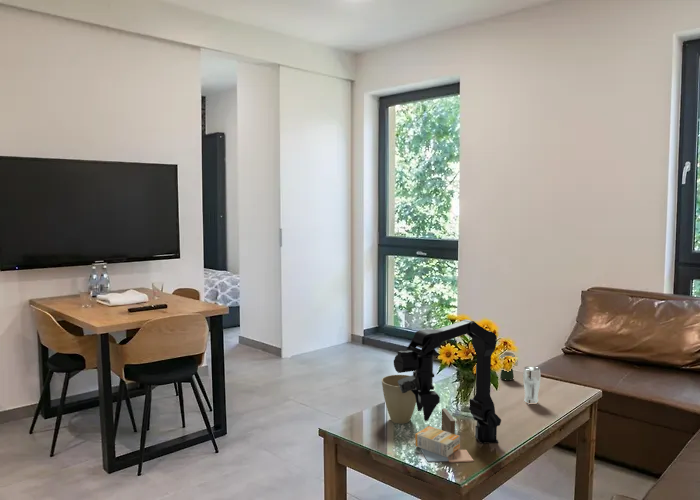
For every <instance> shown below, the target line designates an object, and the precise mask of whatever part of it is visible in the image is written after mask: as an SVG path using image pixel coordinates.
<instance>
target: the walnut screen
mask: <svg viewBox="0 0 700 500" xmlns="http://www.w3.org/2000/svg"><path fill="white" fill-rule="evenodd" d="M441 430H443V431H446V432H449V433H452V434H455V435H456V420H455V418H454V417H453V416H452V415H451V413H450V412H449V411H448V409H447V408H441Z"/></svg>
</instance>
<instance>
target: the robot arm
mask: <svg viewBox="0 0 700 500" xmlns="http://www.w3.org/2000/svg"><path fill="white" fill-rule="evenodd" d="M414 333H415V334H414V335H413V338H412V339H411V341H410V343H409V344H408V345H407V348H406V350H398V351H397V354H396V355H395V357H394V359H393V367H394V369H395V371H396V372H397V374H399V373H401V374H402V373H408V372H412V375H409V376H408V377H406V378H403V379H400V380H398V384H399V387H400V390H401V392H402V393H406V392H407V391H410V390H411V391H412V392H413V393H414V394H415V399H416V407H417V411H418V412H421V411H422V412H423V421H424V422H428V421H429V420H430V417H431V415H432V413H433V412H434V410H435V409H436V406H437V405H439V404H440V402H441V396H440V395H439V394H438V393H437V392H436V391H435V386H434V384H433V379H434V378H435V373H434V357H436V356H439V355H440V353H439V352H438V351H437V350H436V349H437V348H438V347H440V346H441V344H442V343H445V342H446V341H449V340H453V339H455V338H459V337H461V336H465V335H467V336H468V337H470V338H471V342H472V346H473V348H474V350H475V352H476V354H477V364H476V387H475V395H474V396H473V398H470V399H469V407H468V410H469V411H470V414H471V416H472V417H473V421H476V425H475V427H474V428H475V431H474V434H475V435H474V437H475V438H476V439H477V441H478V442H479V444H495V443H496V444H497V443H499V440H498V439H497V432H498V431H497V429H498V427H499V426H500V425H501V423H502V419H501V418H500V417H499V416H498V415H497V413H496V409H495V403H494V401H493V398H492V397H491V374H492V356H493V353H494V352H495V350H496V347H497V342H498V341H497V340H498V338H497V337H498V336H497V334H496V333H495V332H494V331H491V330H488V329H486V328H484V327H483V326H481V325H479V323H477V322H476V321H473V320H472V319H467V318H466V319H462V320H461V321H458V322H455V323H452V324H449V325H445V326H443V327H440V328H436V329H435V328H434V329H418V330H417V331H416V332H414Z"/></svg>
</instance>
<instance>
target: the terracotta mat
mask: <svg viewBox="0 0 700 500" xmlns="http://www.w3.org/2000/svg"><path fill="white" fill-rule="evenodd" d="M453 454H454V455H455V456H456V457H454V458H453ZM453 454H451V458H450V457H449V456H448V457H447V458H448V459H449V458H450V459H449V461H448V462H449V463H465V462H466V463H467V462H469V463H470V462H474V459H473V457H472V456H471V455H470V453H469V452H468V450H467V449H458V450H457V451H456V452H454V453H453Z"/></svg>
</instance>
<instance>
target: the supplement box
mask: <svg viewBox="0 0 700 500" xmlns="http://www.w3.org/2000/svg"><path fill="white" fill-rule="evenodd" d="M414 438H415V439H414V440H415V447H417V448H419V449H421V448H422V449H425V450H428V451H431V452H433V453H436V454H439V455H442V456H444V457H448V456H450V455H451V454H453V453H454V452H456V451H457V450H461V435H458V434H456V433H455V434H452V433H449V432H446V431H443V430H442V429H439V428H436V427H434V426H430V425H428V426H426V427H425V428H424V429H422V430H420V431H418V432H416V433H414Z"/></svg>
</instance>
